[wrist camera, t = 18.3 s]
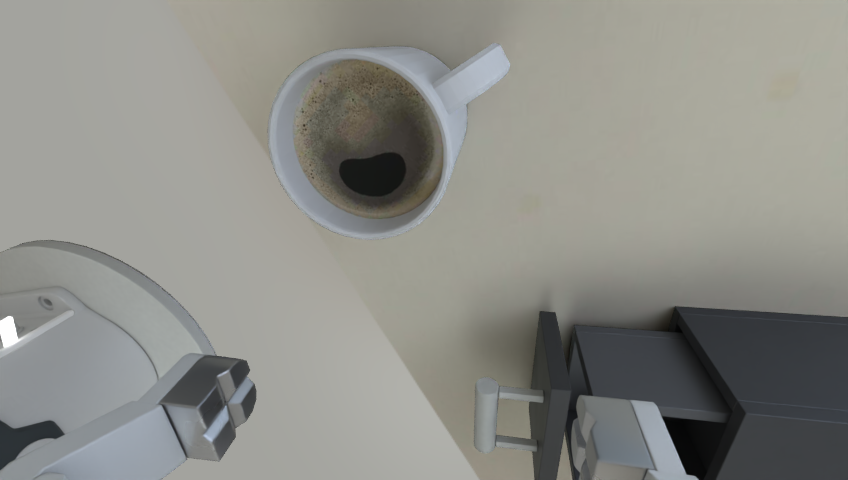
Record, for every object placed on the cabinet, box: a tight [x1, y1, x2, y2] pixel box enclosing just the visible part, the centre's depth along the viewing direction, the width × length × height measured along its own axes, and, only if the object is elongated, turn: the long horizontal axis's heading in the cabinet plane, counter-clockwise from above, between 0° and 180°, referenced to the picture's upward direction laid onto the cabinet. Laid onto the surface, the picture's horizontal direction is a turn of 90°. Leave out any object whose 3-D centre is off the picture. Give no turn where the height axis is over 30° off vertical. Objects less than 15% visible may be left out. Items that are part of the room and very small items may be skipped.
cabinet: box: [668, 307, 848, 480], centre depth 27 cm, size 14×12×10 cm
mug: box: [268, 43, 510, 240], centre depth 23 cm, size 11×10×10 cm
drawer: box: [474, 311, 733, 480], centre depth 29 cm, size 17×11×8 cm, turn 92°
